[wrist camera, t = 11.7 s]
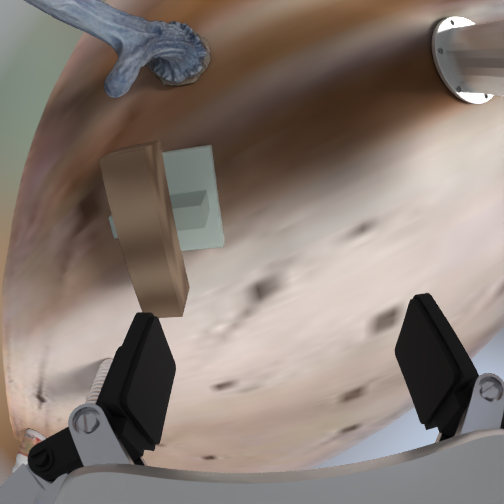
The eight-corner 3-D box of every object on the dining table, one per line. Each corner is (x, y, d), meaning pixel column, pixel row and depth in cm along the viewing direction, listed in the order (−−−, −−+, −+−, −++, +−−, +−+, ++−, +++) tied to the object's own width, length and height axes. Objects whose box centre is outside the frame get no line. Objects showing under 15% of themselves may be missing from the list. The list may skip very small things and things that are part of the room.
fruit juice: (52, 440, 72) (33, 502, 48) (44, 442, 75) (26, 499, 50) (31, 426, 69) (9, 488, 44) (24, 429, 71) (4, 486, 47)
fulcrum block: (211, 144, 32) (204, 154, 26) (224, 241, 38) (221, 268, 32) (113, 161, 32) (89, 175, 26) (135, 250, 38) (118, 277, 32)
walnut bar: (121, 148, 25) (98, 158, 21) (160, 140, 25) (143, 149, 21) (155, 289, 33) (144, 318, 29) (189, 287, 33) (182, 316, 28)
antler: (224, 52, 27) (177, -59, 5) (177, 105, 30) (32, 130, 8) (148, 1, 23) (16, -97, 1) (105, 53, 26) (-72, 34, 4)
